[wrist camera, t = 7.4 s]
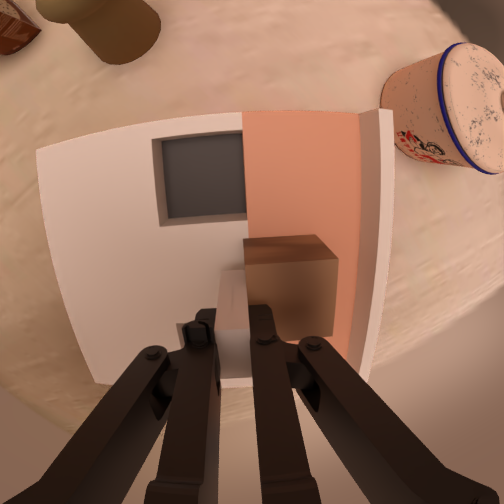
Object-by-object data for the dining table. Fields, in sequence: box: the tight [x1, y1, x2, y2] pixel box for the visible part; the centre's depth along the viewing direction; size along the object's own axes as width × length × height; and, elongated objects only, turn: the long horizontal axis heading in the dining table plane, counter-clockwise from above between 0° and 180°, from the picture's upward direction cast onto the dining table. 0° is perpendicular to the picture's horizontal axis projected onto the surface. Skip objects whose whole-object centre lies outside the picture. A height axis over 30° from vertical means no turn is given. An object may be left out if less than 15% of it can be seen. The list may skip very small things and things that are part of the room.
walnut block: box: [243, 234, 339, 342], centre depth 18 cm, size 5×5×5 cm
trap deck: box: [36, 108, 395, 388], centre depth 20 cm, size 25×22×6 cm
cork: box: [36, 0, 161, 65], centre depth 12 cm, size 6×6×11 cm
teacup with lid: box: [381, 43, 504, 175], centre depth 15 cm, size 12×9×12 cm
